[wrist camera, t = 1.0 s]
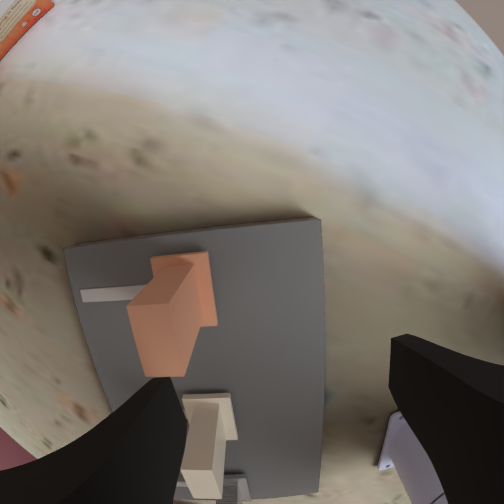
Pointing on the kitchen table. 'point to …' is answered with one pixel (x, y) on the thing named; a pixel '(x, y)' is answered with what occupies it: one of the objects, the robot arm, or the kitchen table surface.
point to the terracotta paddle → (172, 312)
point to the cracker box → (19, 19)
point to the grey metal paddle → (234, 489)
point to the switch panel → (227, 339)
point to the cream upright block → (207, 442)
